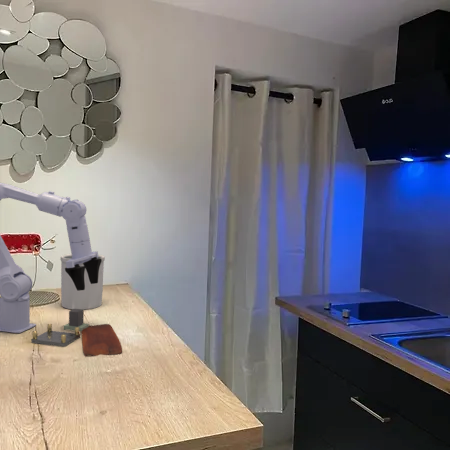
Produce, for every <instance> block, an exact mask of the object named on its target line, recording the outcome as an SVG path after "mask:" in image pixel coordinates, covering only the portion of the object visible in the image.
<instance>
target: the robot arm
mask: <svg viewBox="0 0 450 450" xmlns="http://www.w3.org/2000/svg"><path fill="white" fill-rule="evenodd" d="M2 199H3V200H4V199H11V200H16V201H20V202H24V203H28V204H30V205H35V206H36V208H37V209H38V211H40V212H44V213H47V214H50V215H53V216H56V217H57V216H58V217H60V218H63V219H64V220H65V223H66V225H65V226H66V231H67V236H68V242H69V247H70V254H72V258H71V259H70V260H68V261H66V268H65V271H66V272H67V274H68V275H69V276H70V277H71V279H72V281H73V283H74V285H75V287H76V289H77V291H80V290H85V282H84V272H85V268H86V271H87V273H88V277H89V281H90V283H91V284H95V283H98V274H99V267H100V264H101V261H102V260H101V258H98V257H99V256H98V254H99V251H97V250H96V251H92V246H91V245H92V244H91V240H90V234H89V233H90V232H89V228H88V224H87V218H86V214H87V206H86V204H85V203H84V202H82V201H80V200H79V199H73V200H71V196H65V197H64V196H61V195H58V194H56V193H55V191H52V190H49V191H43V192H42V193H36V192H34V191H30V190H27V189H24V188H21V187H18V186H16V185H12V184H10V183H4V182H0V202H1V201H2ZM97 258H98V259H97ZM82 263H83V265H84V266H79V264H82ZM32 287H33V280H32V278H31V276H29V275H28V274H26V272H25V271H24V270H23V267H21V266H19V265H18V264H17V263H16V262H15V260H14V258H13V256H12V254H11V253H10V251H9V249H8V247H7V245H6V243H5V241H4V239H3V238H2V236H1V235H0V332H6V333H7V332H8V333H16V334H21V333H23V332H26V331H27V330H30V329H33V328H34V327H36V326H37V323H31V320H30V319H31V318H30V314H31V313H30V312H31V311H30V309H31V308H30V306H31V305H30V301H31V300H30V297H31V296H30V294H29V292H30V291H31V290H32Z"/></svg>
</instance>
